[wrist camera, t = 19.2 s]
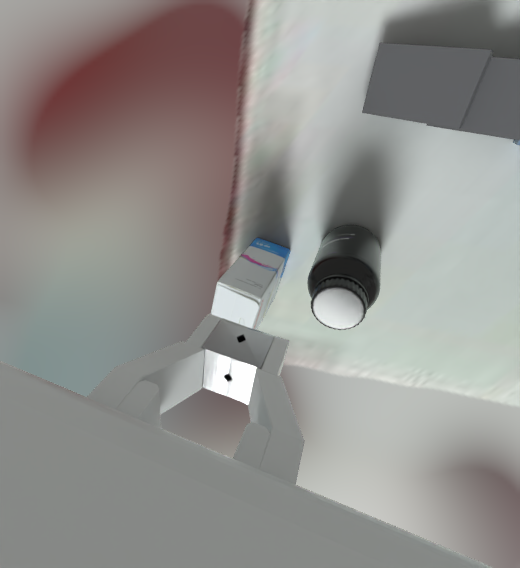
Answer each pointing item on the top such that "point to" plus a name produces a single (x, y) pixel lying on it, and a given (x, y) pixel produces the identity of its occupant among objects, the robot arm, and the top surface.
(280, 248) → the ink box
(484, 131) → the domino
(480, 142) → the top surface
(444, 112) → the domino
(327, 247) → the supplement bottle
